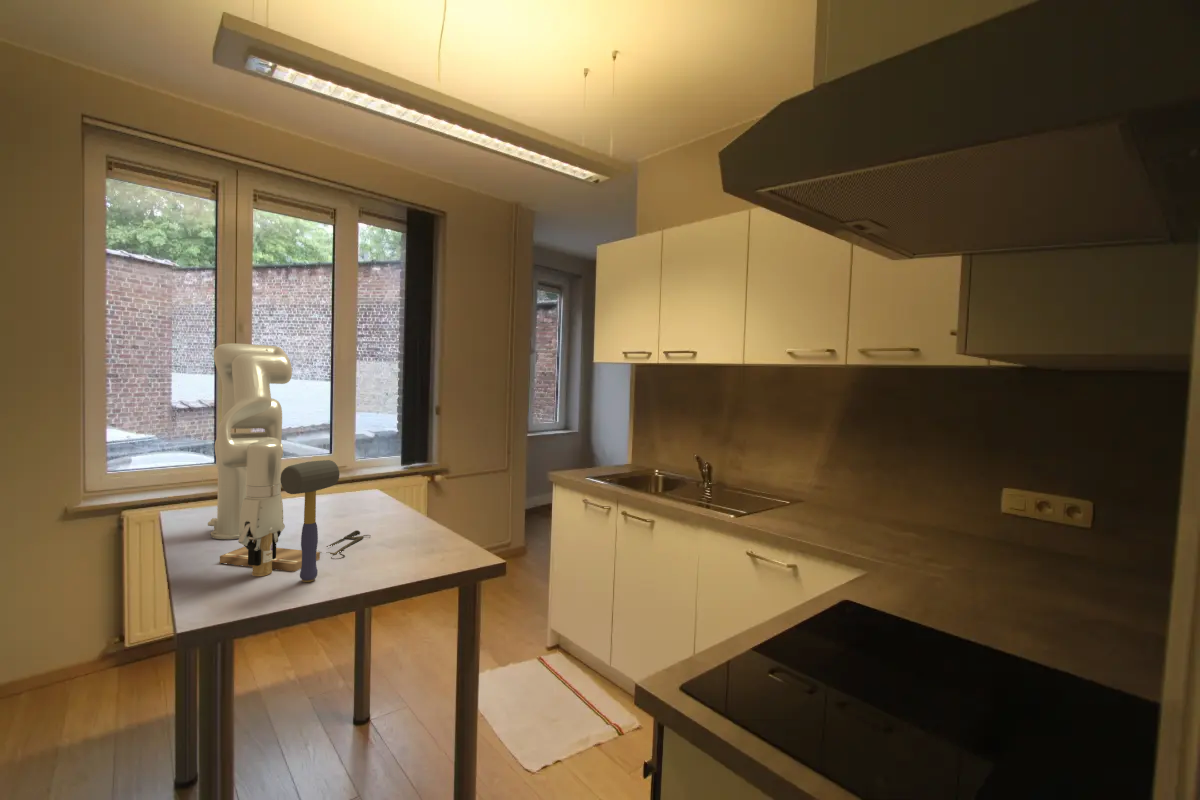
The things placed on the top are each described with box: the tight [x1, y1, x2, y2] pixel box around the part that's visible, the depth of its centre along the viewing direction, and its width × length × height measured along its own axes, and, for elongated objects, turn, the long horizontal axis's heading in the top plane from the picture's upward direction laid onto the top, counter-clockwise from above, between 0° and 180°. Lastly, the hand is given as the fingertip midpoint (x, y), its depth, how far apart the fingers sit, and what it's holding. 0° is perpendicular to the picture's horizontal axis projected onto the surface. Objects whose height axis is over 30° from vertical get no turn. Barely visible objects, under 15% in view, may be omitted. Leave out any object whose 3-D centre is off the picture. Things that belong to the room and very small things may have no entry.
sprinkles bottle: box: [251, 527, 273, 577], centre depth 141 cm, size 5×5×13 cm
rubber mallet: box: [280, 459, 340, 583], centre depth 138 cm, size 12×8×30 cm, turn 159°
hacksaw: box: [326, 530, 372, 560], centre depth 167 cm, size 24×10×2 cm, turn 172°
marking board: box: [219, 546, 321, 572], centre depth 151 cm, size 22×10×2 cm, turn 81°
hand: (262, 560), depth 141 cm, fingers closed on sprinkles bottle, 4 cm apart
